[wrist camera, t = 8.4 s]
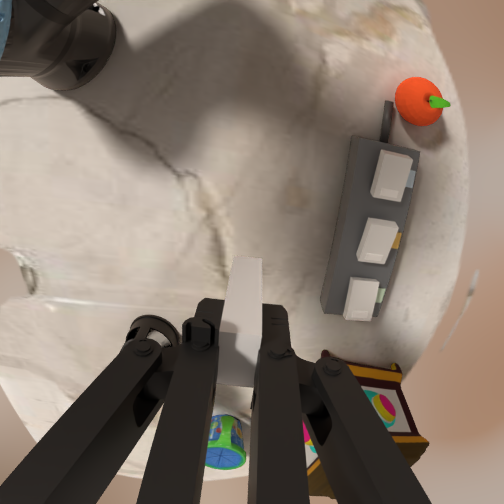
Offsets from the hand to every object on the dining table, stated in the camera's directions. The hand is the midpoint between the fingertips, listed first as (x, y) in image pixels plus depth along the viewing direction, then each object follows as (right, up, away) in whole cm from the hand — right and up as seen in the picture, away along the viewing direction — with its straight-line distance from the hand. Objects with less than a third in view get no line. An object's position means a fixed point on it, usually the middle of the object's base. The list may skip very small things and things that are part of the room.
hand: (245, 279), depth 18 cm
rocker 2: (+17, +3, +24) cm, 29 cm away
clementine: (+23, +23, +22) cm, 39 cm away
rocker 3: (+16, -5, +27) cm, 32 cm away
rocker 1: (+18, +11, +20) cm, 29 cm away
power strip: (+18, +8, +28) cm, 34 cm away
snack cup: (-6, -37, +48) cm, 61 cm away
